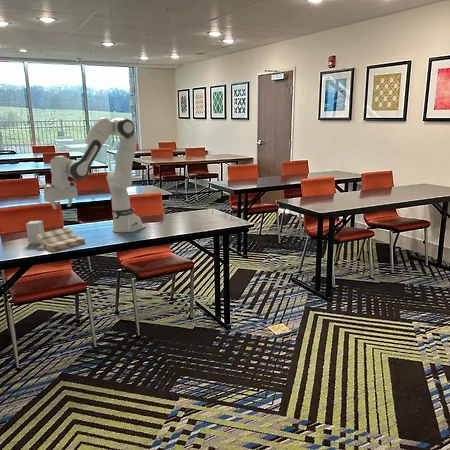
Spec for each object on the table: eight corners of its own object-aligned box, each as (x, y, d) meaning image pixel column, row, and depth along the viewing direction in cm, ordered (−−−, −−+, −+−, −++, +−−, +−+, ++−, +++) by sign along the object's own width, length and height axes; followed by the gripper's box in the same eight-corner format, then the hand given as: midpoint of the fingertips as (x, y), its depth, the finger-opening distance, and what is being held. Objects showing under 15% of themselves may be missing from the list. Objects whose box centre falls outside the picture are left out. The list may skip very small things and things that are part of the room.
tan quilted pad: (67, 230, 255) (68, 226, 253) (75, 239, 252) (76, 235, 250) (36, 238, 240) (37, 233, 238) (44, 247, 237) (45, 243, 235)
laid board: (77, 241, 251) (76, 235, 250) (85, 243, 246) (84, 237, 245) (46, 249, 236) (45, 243, 235) (53, 251, 231) (53, 245, 230)
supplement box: (45, 240, 255) (43, 220, 252) (41, 243, 247) (38, 223, 244) (33, 241, 254) (30, 220, 251) (28, 244, 247) (25, 223, 244)
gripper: (46, 186, 233) (49, 210, 236) (78, 182, 249) (80, 205, 252) (40, 185, 236) (42, 209, 239) (71, 182, 253) (73, 204, 256)
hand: (62, 207), depth 246 cm, fingers open, 8 cm apart
